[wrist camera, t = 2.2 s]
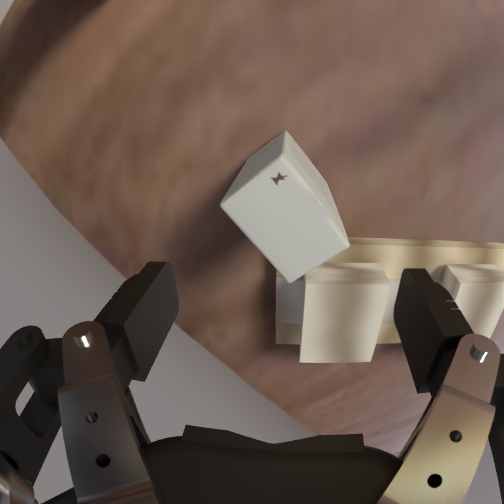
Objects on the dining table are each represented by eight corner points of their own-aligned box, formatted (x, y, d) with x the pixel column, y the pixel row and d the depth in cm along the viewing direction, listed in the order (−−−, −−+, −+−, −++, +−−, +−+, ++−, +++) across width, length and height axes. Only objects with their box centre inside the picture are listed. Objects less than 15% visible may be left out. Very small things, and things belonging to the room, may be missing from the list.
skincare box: (246, 159, 26) (214, 203, 15) (285, 128, 24) (283, 150, 14) (290, 212, 28) (288, 287, 17) (329, 185, 26) (354, 246, 16)
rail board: (276, 334, 34) (273, 371, 29) (277, 235, 29) (273, 266, 24) (476, 328, 31) (493, 358, 26) (507, 243, 26) (533, 268, 21)
